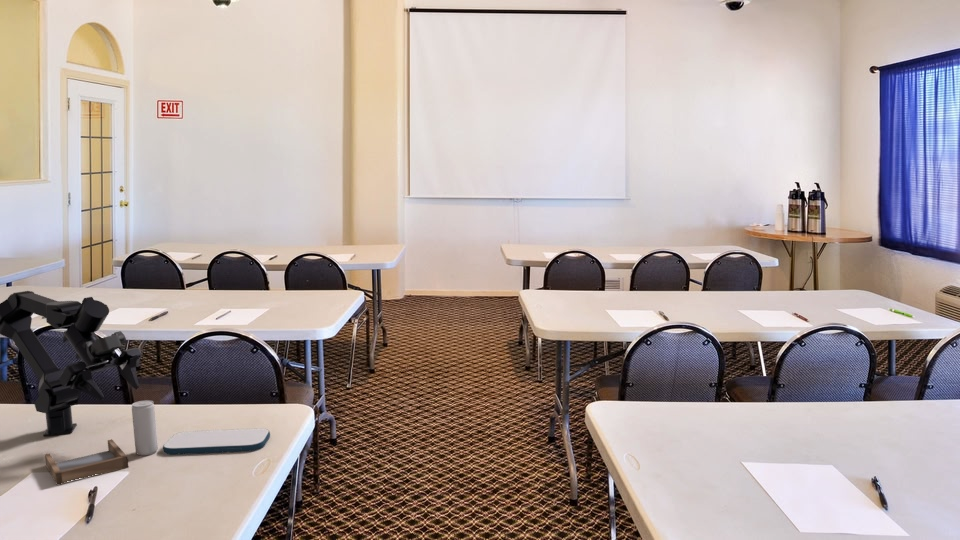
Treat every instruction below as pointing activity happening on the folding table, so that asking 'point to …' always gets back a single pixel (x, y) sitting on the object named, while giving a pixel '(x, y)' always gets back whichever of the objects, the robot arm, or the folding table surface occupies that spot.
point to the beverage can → (144, 427)
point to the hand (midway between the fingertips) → (120, 393)
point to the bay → (87, 464)
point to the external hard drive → (217, 441)
